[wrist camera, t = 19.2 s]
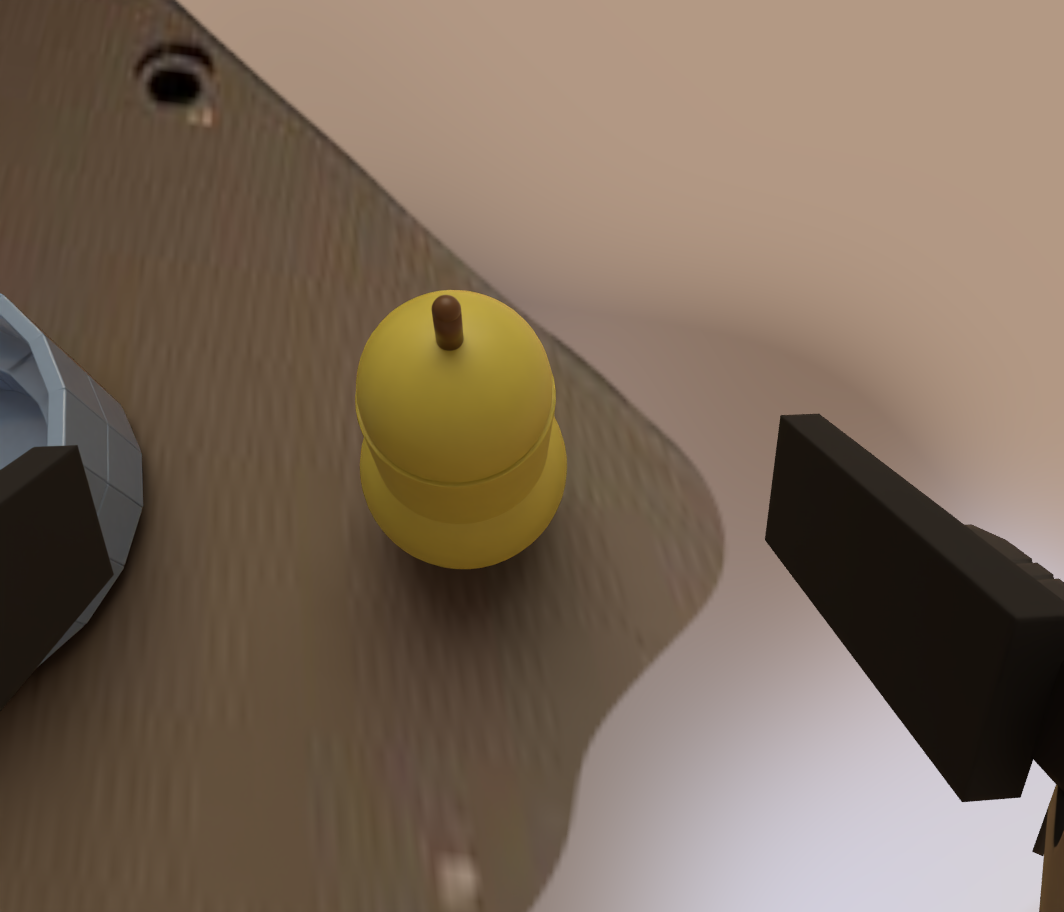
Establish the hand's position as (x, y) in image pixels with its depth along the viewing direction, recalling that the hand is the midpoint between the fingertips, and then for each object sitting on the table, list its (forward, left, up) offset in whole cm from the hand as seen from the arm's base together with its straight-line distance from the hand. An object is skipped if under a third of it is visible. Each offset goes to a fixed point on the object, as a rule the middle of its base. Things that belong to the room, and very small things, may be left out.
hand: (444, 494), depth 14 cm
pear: (-3, +3, -11) cm, 12 cm away
